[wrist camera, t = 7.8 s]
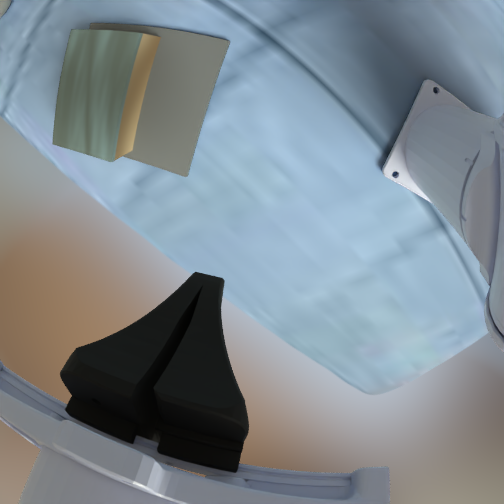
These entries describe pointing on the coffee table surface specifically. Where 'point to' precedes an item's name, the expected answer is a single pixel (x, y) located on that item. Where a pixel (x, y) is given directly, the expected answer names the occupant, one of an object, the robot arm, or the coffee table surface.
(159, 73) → the rubber mat
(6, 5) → the beige rounded lump
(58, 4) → the coffee table surface
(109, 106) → the oak slab
